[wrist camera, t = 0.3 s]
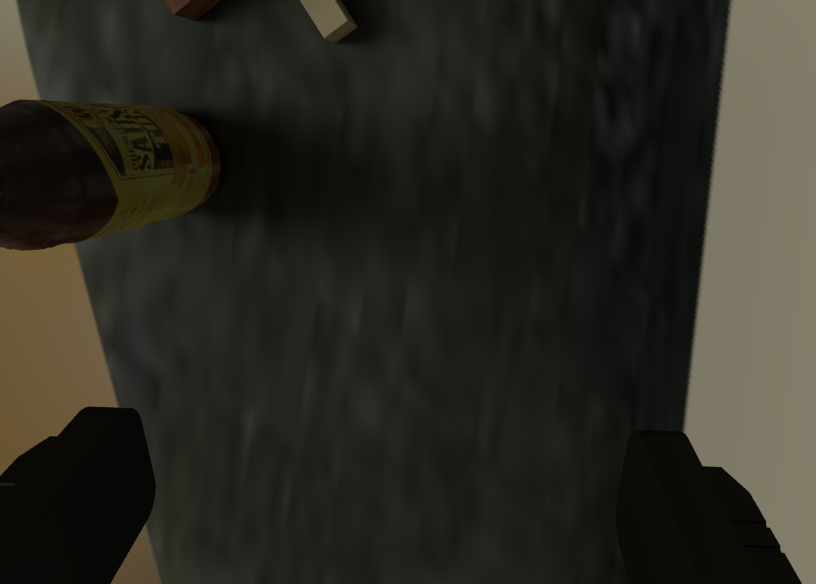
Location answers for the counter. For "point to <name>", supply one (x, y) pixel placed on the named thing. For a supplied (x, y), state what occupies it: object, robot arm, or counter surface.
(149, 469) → the robot arm
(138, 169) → the sauce bottle
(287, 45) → the counter surface
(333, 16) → the trap channel
